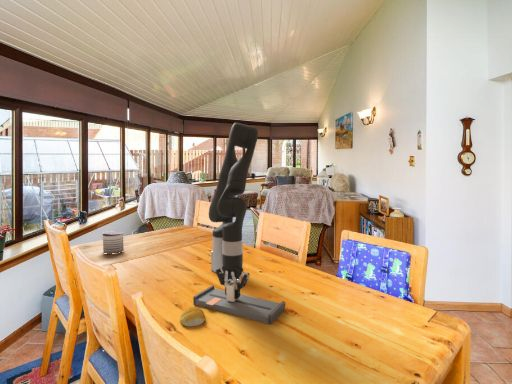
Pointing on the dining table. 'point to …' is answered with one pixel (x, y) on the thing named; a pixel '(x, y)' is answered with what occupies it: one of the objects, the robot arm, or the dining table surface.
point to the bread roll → (192, 317)
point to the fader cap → (230, 292)
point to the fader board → (240, 305)
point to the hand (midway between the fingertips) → (232, 297)
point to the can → (112, 242)
